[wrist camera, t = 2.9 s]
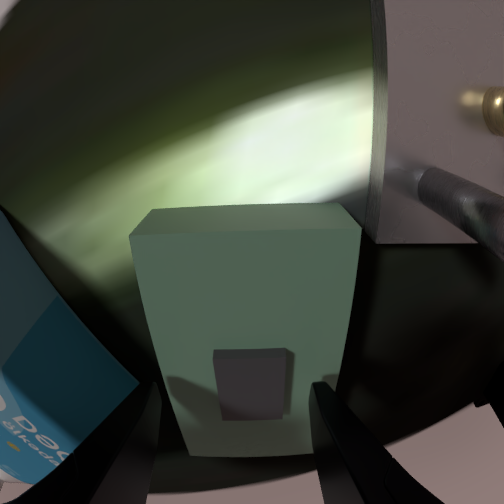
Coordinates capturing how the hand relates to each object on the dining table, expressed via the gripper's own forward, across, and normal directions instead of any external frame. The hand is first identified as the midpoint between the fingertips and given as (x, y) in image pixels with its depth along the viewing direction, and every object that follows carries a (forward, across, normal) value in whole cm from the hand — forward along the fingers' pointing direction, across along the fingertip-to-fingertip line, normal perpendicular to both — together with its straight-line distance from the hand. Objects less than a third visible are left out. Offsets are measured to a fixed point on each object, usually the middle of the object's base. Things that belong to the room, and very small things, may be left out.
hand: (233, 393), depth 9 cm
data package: (0, +17, +5) cm, 17 cm away
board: (+3, 0, 0) cm, 3 cm away
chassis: (+3, -10, -12) cm, 16 cm away
